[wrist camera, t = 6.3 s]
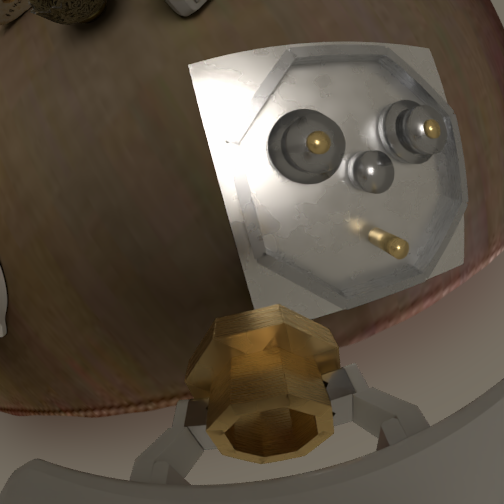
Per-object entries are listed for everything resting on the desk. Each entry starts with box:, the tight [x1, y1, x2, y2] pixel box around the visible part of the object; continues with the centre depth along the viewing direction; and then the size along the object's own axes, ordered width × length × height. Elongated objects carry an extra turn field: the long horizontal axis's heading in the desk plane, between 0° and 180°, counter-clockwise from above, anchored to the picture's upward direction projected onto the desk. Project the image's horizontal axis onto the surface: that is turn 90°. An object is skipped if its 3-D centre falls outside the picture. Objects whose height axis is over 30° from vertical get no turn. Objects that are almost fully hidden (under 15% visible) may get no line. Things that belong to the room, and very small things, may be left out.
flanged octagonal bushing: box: [185, 303, 340, 464], centre depth 10 cm, size 6×6×4 cm
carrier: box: [188, 42, 468, 320], centre depth 20 cm, size 25×25×6 cm
